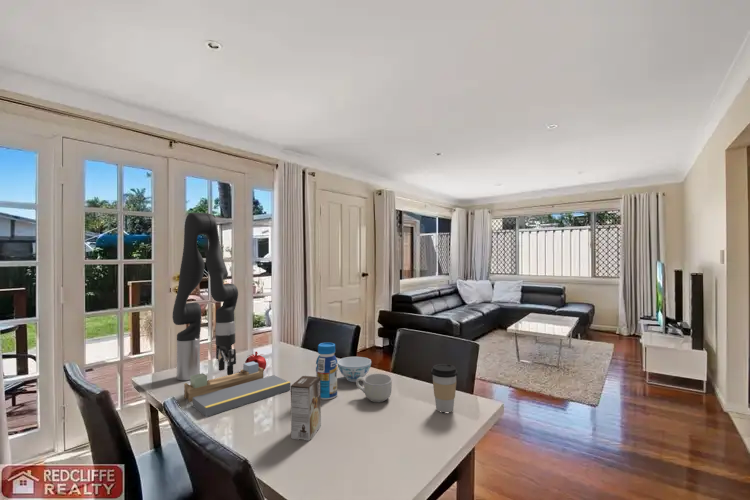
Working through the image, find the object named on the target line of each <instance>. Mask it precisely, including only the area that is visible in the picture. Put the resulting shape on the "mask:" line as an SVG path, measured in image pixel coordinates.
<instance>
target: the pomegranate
mask: <svg viewBox="0 0 750 500" xmlns="http://www.w3.org/2000/svg"><path fill="white" fill-rule="evenodd" d="M263 355H265V353H261V354H258V351H254V353H253V354H249V355H248V356H247V358H246V360H245V361H244V362H245V363H249V362H253V361H254V362H256V363H258V367H260V368H263V371H265V370H266V368H267V360H266V359H265V357H264V356H263Z"/></svg>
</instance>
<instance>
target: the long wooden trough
mask: <svg viewBox="0 0 750 500" xmlns="http://www.w3.org/2000/svg"><path fill="white" fill-rule="evenodd" d="M262 378H264V370H263V368H260V367H258V372H256V373H252V374H249V372H247V371H245V370H243V368H242V369H240V372H236V373H233V374H232V375H224V376H220V377H216V378H211V379H209V380H208V379H207V385H206V386H202V387H198V388H193V387H192V386H191V385H190V384H189V383H183V384H184V386H183V389H184V390H183V392H184V393H183V396H184V399H187V400H188V402H189V403H191V402H193V397H196V396H200V395H204V394H207V393H211V392H214V391H218V390H222V389H225V388H229V387H233V386H236V385H240V384H243V383H247V382H251V381H254V380H258V379H262Z"/></svg>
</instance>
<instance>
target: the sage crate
mask: <svg viewBox="0 0 750 500" xmlns="http://www.w3.org/2000/svg"><path fill="white" fill-rule="evenodd" d="M207 380H208V376H207V375H206V374H205V373H203V372H202V373H201V372H200V374H197V375H193V376H190V380H189V382H190V384H189V385H191V386H192V387H193V388H198V387H202V386H206V385H207Z"/></svg>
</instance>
